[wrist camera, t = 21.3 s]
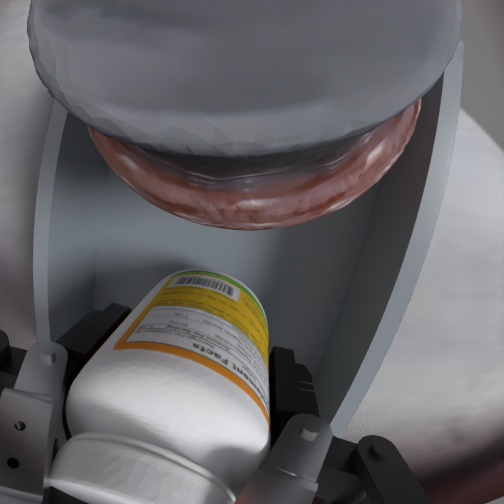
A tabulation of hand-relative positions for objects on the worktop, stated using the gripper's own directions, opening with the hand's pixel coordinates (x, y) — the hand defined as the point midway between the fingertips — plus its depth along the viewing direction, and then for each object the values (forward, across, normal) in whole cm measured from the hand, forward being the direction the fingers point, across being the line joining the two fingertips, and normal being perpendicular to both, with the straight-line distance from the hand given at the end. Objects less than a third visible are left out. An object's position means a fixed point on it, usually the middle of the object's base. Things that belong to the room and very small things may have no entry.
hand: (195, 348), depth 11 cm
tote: (+4, 0, -4) cm, 6 cm away
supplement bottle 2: (+2, 0, 0) cm, 2 cm away
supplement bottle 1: (+4, 0, -8) cm, 9 cm away
